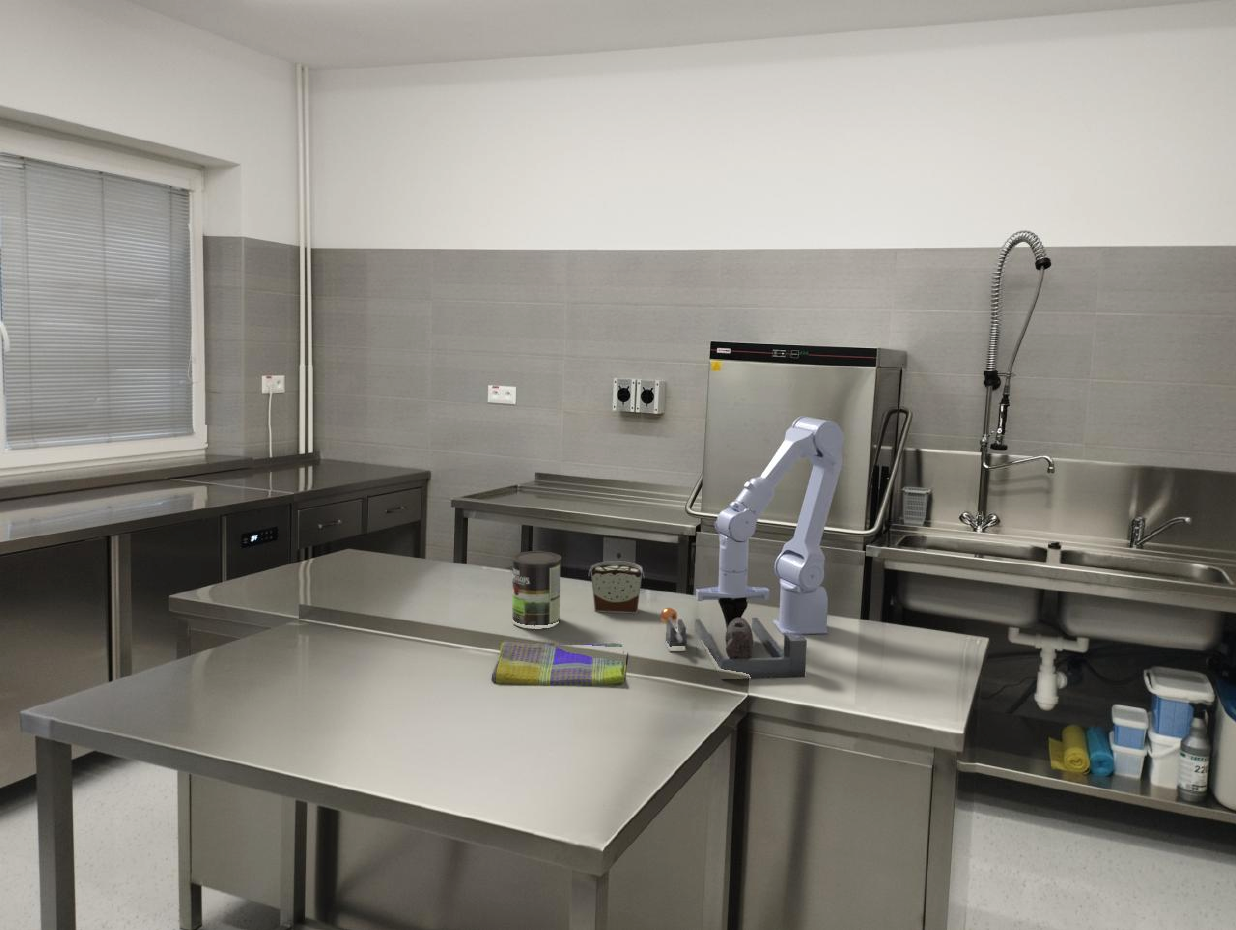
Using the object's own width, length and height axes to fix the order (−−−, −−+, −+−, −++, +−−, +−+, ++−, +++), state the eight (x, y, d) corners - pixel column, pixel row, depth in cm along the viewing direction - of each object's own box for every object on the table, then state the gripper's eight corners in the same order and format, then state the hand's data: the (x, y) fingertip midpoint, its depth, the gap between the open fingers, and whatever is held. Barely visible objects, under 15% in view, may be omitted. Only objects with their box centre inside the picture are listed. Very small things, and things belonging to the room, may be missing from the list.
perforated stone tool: (725, 640, 190) (726, 606, 189) (752, 641, 190) (753, 608, 188) (724, 668, 176) (725, 632, 174) (752, 669, 175) (754, 633, 174)
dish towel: (623, 691, 166) (623, 676, 166) (486, 686, 167) (486, 671, 167) (628, 654, 183) (628, 641, 183) (503, 650, 185) (503, 637, 184)
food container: (646, 604, 212) (646, 561, 211) (644, 613, 206) (644, 569, 204) (591, 602, 213) (591, 559, 212) (588, 611, 207) (588, 567, 206)
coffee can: (528, 633, 193) (528, 566, 191) (502, 619, 201) (502, 555, 199) (570, 623, 199) (570, 558, 197) (543, 610, 207) (543, 548, 205)
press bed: (768, 629, 197) (769, 596, 196) (805, 677, 172) (806, 640, 170) (660, 631, 195) (661, 598, 194) (682, 680, 169) (682, 643, 168)
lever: (675, 621, 197) (675, 605, 196) (689, 648, 181) (689, 631, 180) (659, 621, 196) (659, 605, 196) (671, 649, 180) (672, 632, 180)
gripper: (764, 562, 194) (761, 626, 196) (694, 563, 192) (692, 627, 194) (772, 572, 187) (770, 638, 189) (700, 573, 185) (698, 639, 187)
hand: (731, 633), depth 191 cm, fingers closed
